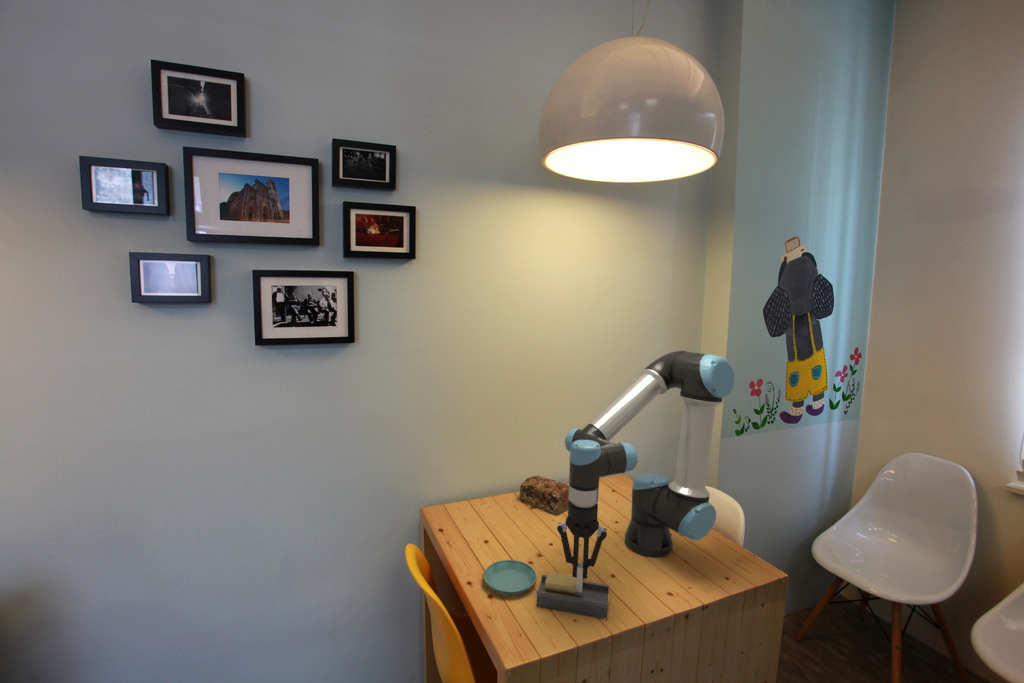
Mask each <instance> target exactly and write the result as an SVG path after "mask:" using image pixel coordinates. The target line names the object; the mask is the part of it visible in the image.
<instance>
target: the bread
mask: <svg viewBox="0 0 1024 683" xmlns="http://www.w3.org/2000/svg"><path fill="white" fill-rule="evenodd" d="M519 499H520V502H521V503H522V504H524V503H525V504H526V505H528V506H530V505H531V506H530V507H534V508H535V509H538V510H541V511H544V512H547V513H548V514H551V515H557V516H558V515H561V514H563V513H565V512H568V502H569V484H567V483H564V482H562V481H557V480H555V479H551V478H547V477H544V476H540V475H534V476H530V477H528V478H526V479H524V481H523V482H522V483H521V484H520V486H519Z"/></svg>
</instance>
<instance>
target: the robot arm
mask: <svg viewBox="0 0 1024 683" xmlns="http://www.w3.org/2000/svg"><path fill="white" fill-rule="evenodd" d="M734 384H735V373H734V369H733V367H732V365H731V363H730V362H729V361H728V360H727V359H726V358H724V357H723V356H718V355H714V354H711V353H701V352H691V351H687V350H675V351H671V352H669V353H665V354H664V355H662V356H660V357H658V358H657V359H655V360H654V361H652V362H650V363H649V364H648V365H647V366H646V367H645V368H643V369H642V371H641V373H640V376H639V377H638V379H636V380H635V381H634V382H633V383H632V384H631V385H630V386H629V387H627V388H626V389H625V390H624V391H623V392H622V393H621V394H619V395H618V396H617V397H616V398H615V399H614V400H613V401H612V402H611V403H610V404H608V406H606V407H605V408H604V409H603V410H602V411H601V412H600V413H599V414H598V415H597V416H595V417H594V418H593V419H592V420H591V421H590V422H589V423H587V424H586V426H585V427H584V428H582V429H581V428H573V429H571V430H569V431H568V432H567V433H566V435H565V438H564V444H565V445H564V447H565V449H566V450H567V451H568V452H569V476H568V477H569V480H568V482H569V484H568V486H569V502H568V510H567V517H566V518H565V521H564V522H561V521H560V522H558V523H557V527H556V530H557V532H558V533H559V535H560V538H561V543H562V548H563V554H564V557H565V562H566V563H567V564H570V565H572V575H573V577H576V578H577V583H576V592H582V587H583V581H584V580H587V578H588V574H589V573H588V572H589V571H588V570H589V567H593V568H594V567H595V565H596V563H597V559H598V556H599V553H600V551H601V550H600V549H601V547H602V543H603V541H604V540H605V539H606V537H607V536H608V529H607V528H605V527H604V528H603V527H602V526H600V523H599V520H598V510H599V504H598V502H599V489H600V478H603V477H607V476H613V475H617V474H624V473H627V472H630V471H632V470H634V469H636V467H637V465H638V457H639V456H638V453H637V451H636V448H635V447H634V446H633V445H632V444H630V443H629V442H618V443H615V442H612V441H611V439H613V438H614V436H616V435H617V434H618V433H619V432H620V431H621V430H622V429H623V428H624V427H625V426H626V425H627V424H629V423H630V422H631V421H632V420H633V419H634V418H635V417H636V416H637V415H638V414H639V413H640V412H642V410H644V409H645V408H646V407H647V406H648V405H649V404H650V403H651V402H652V401H653V400H654V399H655V398H656V397H657V396H658V395H664V394H665V393H666V392H668V391H669V390H671V389H676V388H677V389H680V394H679V397H680V398H681V399H682V401H683V402H684V404H683V411H682V412H683V413H682V420H681V427H680V436H679V444H678V450H677V457H676V458H677V459H676V466H675V473H674V480H673V481H672V480H671V478H670V476H667V475H664V474H660V473H659V474H658V473H644V474H639V475H636V476H635V477H634V478H633V482H632V487H631V488H632V489H631V490H632V491H631V516H630V517H631V518H630V521H629V524H628V526H627V528H626V531H625V532H624V544H625V546H626V547H627V548H628V549H629V550H630V551H632V552H634V553H636V554H639V555H641V556H645V557H650V558H661V557H666V556H668V555H670V554H672V552H673V546H674V541H673V537H672V534H671V531H670V530H672V531H674V532H676V533H677V534H679V535H680V536H682V537H685V538H688V539H689V540H692V541H699V540H701V539H703V538H705V537H706V536H707V535H708V533H710V532H711V531H712V529H713V527H714V525H715V523H716V519H717V510H716V508H715V506H714V505H713V504H712V503H710V495H711V494H710V492H709V490H708V489H707V488H706V481H707V474H708V468H709V466H708V465H709V459H710V453H711V452H710V451H711V444H712V435H713V428H714V420H715V413H716V408H717V407H718V406H719V405H721V404H722V403H723V399H724V398H726V397H728V396H729V395H730V394H731V391H732V390H733V389H734ZM567 530H569V532H570V533H571V534H572V535H573V552H571V548H570V543H569V538H568V533H567ZM595 533H597V534H596V535H597V537H596V540H595V544H594V546H593V549H592V554H591V556H590V558H589V554H590V553H589V550H590V548H589V546H590V538H591V537H592V536H593V535H594V534H595ZM580 538H582V539H583V554H582V555H583V556H582V561H579V549H580ZM572 554H573V555H572Z"/></svg>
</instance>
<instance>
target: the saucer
mask: <svg viewBox="0 0 1024 683" xmlns="http://www.w3.org/2000/svg"><path fill="white" fill-rule="evenodd" d="M483 578H484V581H485V583H486V585H487V586H488V587H489V588H490V589H491V590H493V591H494V592H496V593H498V594H499V595H503V596H510V597H511V596H518V595H521V594H523V593H525V592H527V591H528V590H530V589H531V588H532V587H533V586H534V584H535V583H536V581H537V572H536V571H535V569H534V568H533V567H532V566H531V565H529V564H528V563H526V562H523V561H520V560H515V559H504V560H498V561H496V562H494V563H493V562H492V563H491V564H490V565H488V566H487V567H486V569H485V570H484V572H483Z"/></svg>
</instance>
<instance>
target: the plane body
mask: <svg viewBox="0 0 1024 683" xmlns="http://www.w3.org/2000/svg"><path fill="white" fill-rule="evenodd" d="M546 577H547V574H543V573H542V574H541V580H540V584H539V587H538V590H536V604H535V605H536V607H537V608H543V609H547V610H551V611H552V610H553V611H558V612H564V613H568V614H569V613H570V614H576V615H581V616H586V617H593V618H596V617H598V618H597V619H602V618H606V619H605V620H608V618H609V617H608V615H609V594H610V593H609V592H610V585H609V584H605V583H604V584H603V583H598V582H591V581H586V580H583V587H582V592H576V597H574V596H568V595H562V594H557V593H551V592H545V581H546Z"/></svg>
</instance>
